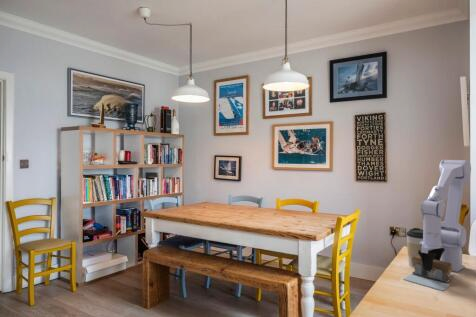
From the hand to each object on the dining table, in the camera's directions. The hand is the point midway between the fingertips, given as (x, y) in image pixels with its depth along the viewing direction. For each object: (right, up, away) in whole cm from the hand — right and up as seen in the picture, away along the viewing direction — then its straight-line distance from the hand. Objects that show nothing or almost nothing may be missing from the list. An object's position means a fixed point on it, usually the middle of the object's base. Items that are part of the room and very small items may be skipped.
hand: (431, 268), depth 124 cm
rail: (0, 0, 0) cm, 0 cm away
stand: (0, -3, 0) cm, 3 cm away
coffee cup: (+2, -3, +12) cm, 13 cm away
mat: (-5, -3, -6) cm, 8 cm away
